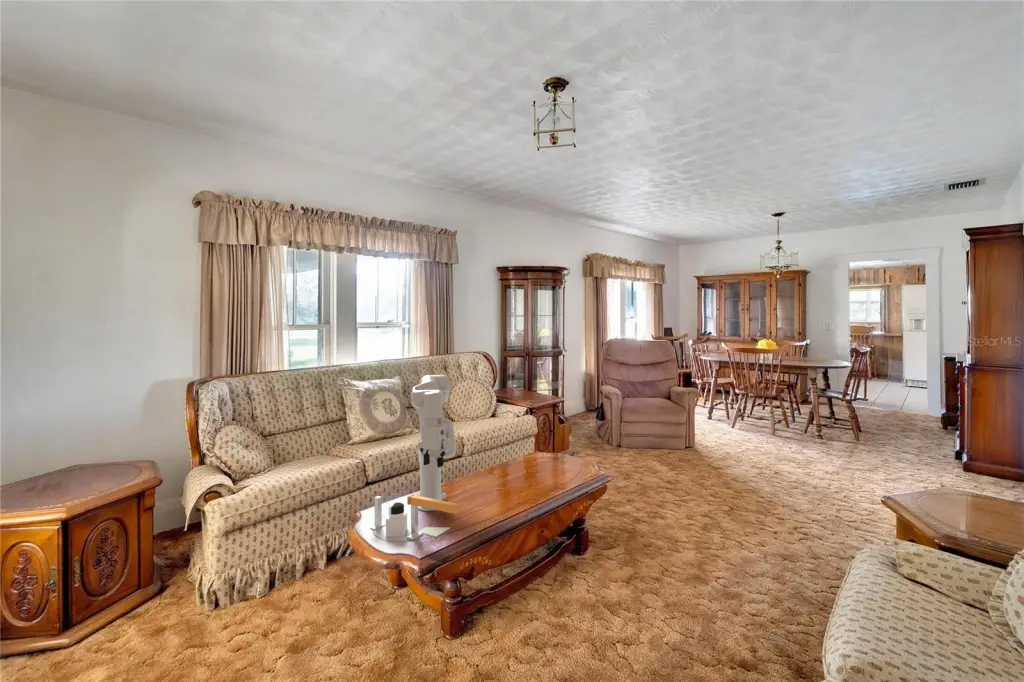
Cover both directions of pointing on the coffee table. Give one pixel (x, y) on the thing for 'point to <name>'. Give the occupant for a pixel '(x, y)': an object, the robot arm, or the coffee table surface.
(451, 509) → the bar
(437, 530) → the coaster
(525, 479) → the coffee table surface
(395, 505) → the medicine bottle
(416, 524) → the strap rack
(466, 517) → the coffee table surface
